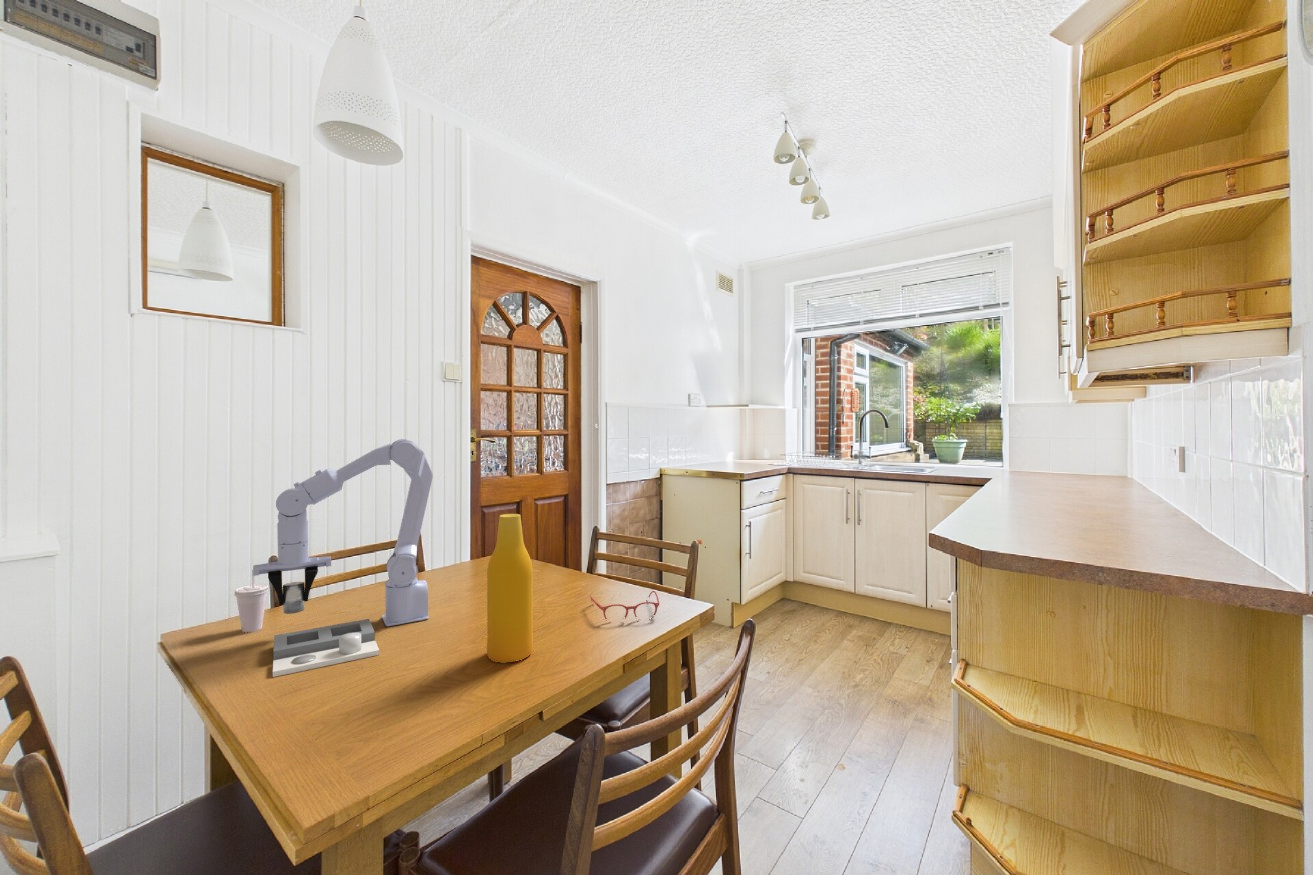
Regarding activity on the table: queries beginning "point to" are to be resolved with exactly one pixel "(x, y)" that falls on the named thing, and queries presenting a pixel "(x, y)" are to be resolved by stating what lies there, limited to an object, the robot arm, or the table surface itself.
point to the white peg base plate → (328, 655)
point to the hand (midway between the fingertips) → (293, 602)
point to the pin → (293, 597)
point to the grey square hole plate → (319, 638)
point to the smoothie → (251, 605)
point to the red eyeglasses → (628, 606)
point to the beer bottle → (509, 594)
